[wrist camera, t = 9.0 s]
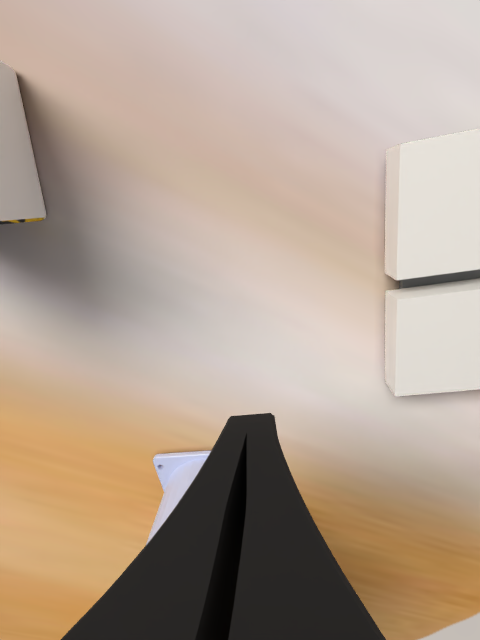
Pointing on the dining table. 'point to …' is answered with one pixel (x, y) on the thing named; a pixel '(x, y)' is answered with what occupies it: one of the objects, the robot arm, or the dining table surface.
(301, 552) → the robot arm
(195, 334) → the dining table surface
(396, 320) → the tile far
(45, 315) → the dining table surface
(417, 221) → the tile near
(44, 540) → the dining table surface
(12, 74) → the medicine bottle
